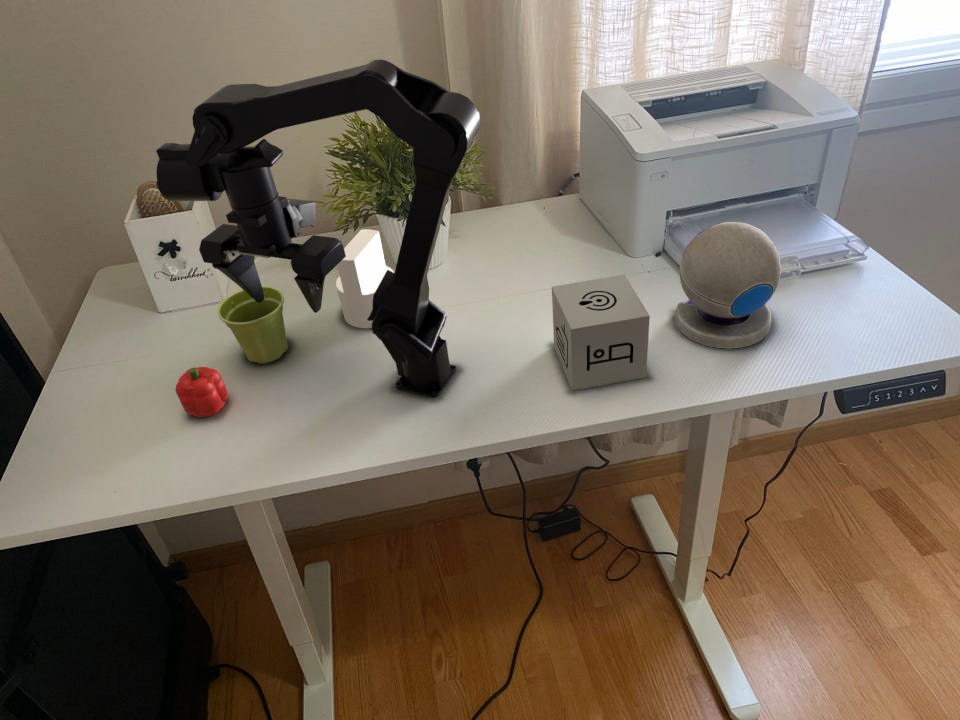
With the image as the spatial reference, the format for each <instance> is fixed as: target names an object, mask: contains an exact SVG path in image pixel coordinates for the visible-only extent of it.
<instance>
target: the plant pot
mask: <svg viewBox="0 0 960 720" xmlns="http://www.w3.org/2000/svg"><path fill="white" fill-rule="evenodd" d="M262 289H263V294H264V300H263V301H262V302H261V303H258V302H256V301H255V300H254V299H253V298H252V297H251V296H250V295H248V294H247V293H246V292H245V291H244V290H243V289H241V290H238V291H236V292H233V293H232V294H230V295H229V296H227V297H226V298H224V300H222V301H221V303H219V306H218V307H217V311H216V313H217V317H218V318H219V320H220V321H221V322H222V323H224V324H225V325H226V327H228V328H229V329H230V331H231V333H232V334H233V335H234V337H235V340H236V341H237V342H238V344H239V347H240V348H241V349H242V351H243V353H244V355H245V357H246V358H247V360H248V361H249V362H251V363H252V362H254V363H257V364H268V363H271V362H274V361H276V360H278V359H280V358H281V357H282V356H283V354H284V353H285V352H287V350H288V349H289V345H288V340H287V333H286V327H285V321H284V314H283V311H284V302H285V296H284V293H283V292H282V291H281V290H280V289H278V288H277V287H274V286H269V285H262Z"/></svg>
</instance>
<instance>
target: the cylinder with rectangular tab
mask: <svg viewBox="0 0 960 720" xmlns="http://www.w3.org/2000/svg"><path fill="white" fill-rule="evenodd" d="M344 251H345V255H346V257H345V258H344V259H343V260H342V261H341V262H340V263H339V264H338V265H337V266H336V267H337V270H338V274H339V275H338V277H337V279H336V281H335V286H336V291H337V296H338V299H339V303H340V307H341V310H342V315H343V317H344V321H345V323H347V324H348V325H349V326H352V327H353V328H357V329H372V322H373V320H372V321H368V320H367V319H368V317H369V315H370V313H371V311H372V310H373V295H374V293H375V291H376V289H377V288H378V286H379V284H380V282H381V280H382V278H383V277H384V275H385V273H386V271H387V270H389V271H391V272H393V273H395V270H393V269H392V268H391V267H390V266H388V265H386V260H385V256H384V250H383V244H382V241H381V235H380V231H379V230H375V229H360V230H359V231H358V232H357V233H356V234H355V236H354V237H353V238H352V239H351V240H350V241H349V243H347V244H346V245H345V247H344Z"/></svg>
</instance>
